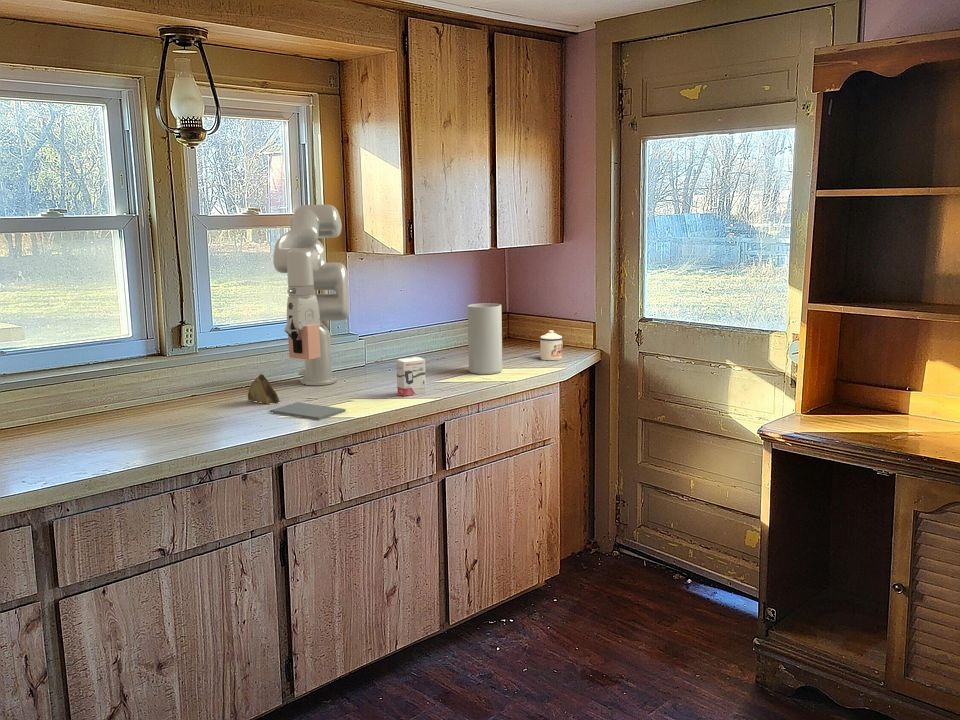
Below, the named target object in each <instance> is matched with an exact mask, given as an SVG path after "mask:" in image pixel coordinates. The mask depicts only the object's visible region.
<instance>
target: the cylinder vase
mask: <svg viewBox="0 0 960 720" xmlns="http://www.w3.org/2000/svg"><path fill="white" fill-rule="evenodd" d="M502 316H503V315H502V304H500V303H490V302H489V303H488V302H487V303H471V304H468V305H467V338H468V342H467V343H468V344H467V345H468V372H470V373H471V374H474V373H476V374H475V375H494V373H496V374H499V373H501V372H502V371H503V332H502V331H503V327H502V326H503V325H502V322H503V320H502Z"/></svg>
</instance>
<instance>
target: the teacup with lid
mask: <svg viewBox="0 0 960 720" xmlns="http://www.w3.org/2000/svg"><path fill="white" fill-rule="evenodd" d="M539 341H540V342H539V343H540V348H539V349H540V360H542V361H546V360H557V361H560V359H561V360H562V359H563V344H564V343H563V336H562V335H560V334H558V333H557V332H555V331H554V330H551V329H550V330H548V332H547V333H545V334H543V335H541V336H540V337H539Z"/></svg>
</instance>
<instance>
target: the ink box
mask: <svg viewBox="0 0 960 720" xmlns="http://www.w3.org/2000/svg"><path fill="white" fill-rule="evenodd" d="M395 362H396V382H397V383H396V386H397V395H399V394H400V395H399V396H402V395H403V396H402V397H407V396H406V395H410V396H414V395H413V394H417V395H421V394H420V393H424V394H427V388H426V387H427V384H426V383H427V382H426V359H425V358H421V357H420V356H413V357H407V358H406V357H405V358H399V359H396V361H395Z"/></svg>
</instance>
